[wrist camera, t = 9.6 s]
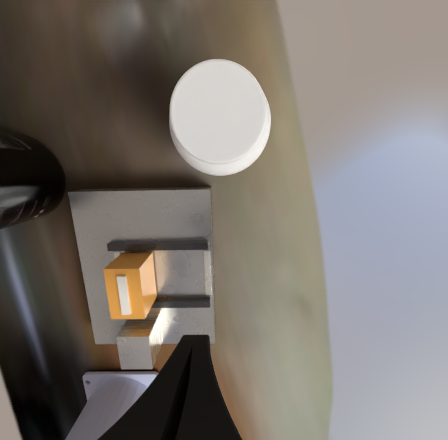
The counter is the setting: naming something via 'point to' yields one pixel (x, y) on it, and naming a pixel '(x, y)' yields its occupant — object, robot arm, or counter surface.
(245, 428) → the counter surface
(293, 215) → the counter surface
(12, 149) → the supplement bottle
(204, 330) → the strip
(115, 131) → the counter surface
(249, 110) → the supplement bottle
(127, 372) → the robot arm
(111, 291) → the orange cuboid
